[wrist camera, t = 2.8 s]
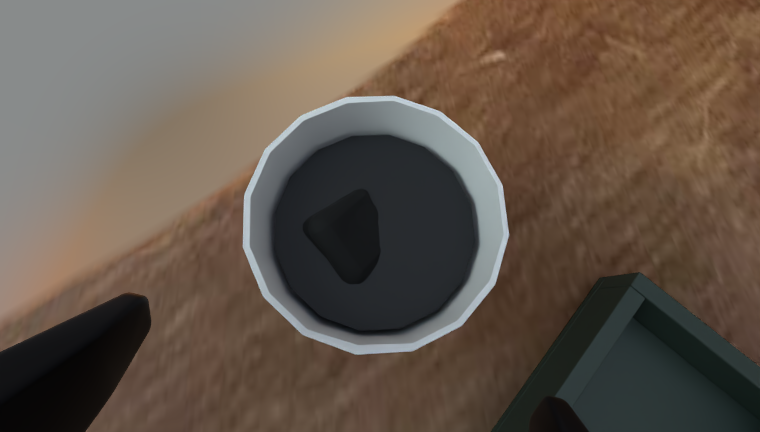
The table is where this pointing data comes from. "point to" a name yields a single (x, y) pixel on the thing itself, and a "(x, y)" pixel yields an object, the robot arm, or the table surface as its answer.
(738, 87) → the table surface
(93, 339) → the robot arm
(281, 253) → the white cup
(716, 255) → the table surface
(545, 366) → the tray
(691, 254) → the table surface
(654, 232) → the table surface
